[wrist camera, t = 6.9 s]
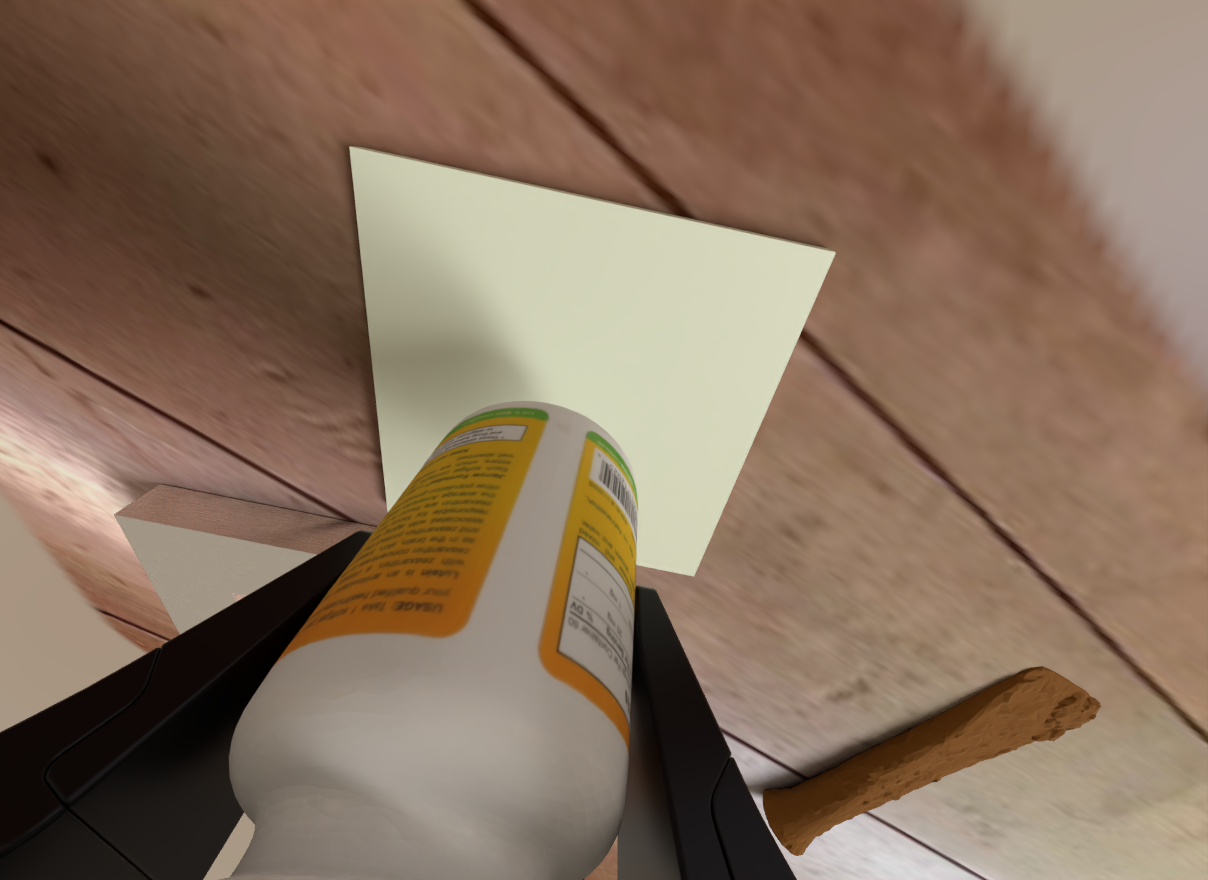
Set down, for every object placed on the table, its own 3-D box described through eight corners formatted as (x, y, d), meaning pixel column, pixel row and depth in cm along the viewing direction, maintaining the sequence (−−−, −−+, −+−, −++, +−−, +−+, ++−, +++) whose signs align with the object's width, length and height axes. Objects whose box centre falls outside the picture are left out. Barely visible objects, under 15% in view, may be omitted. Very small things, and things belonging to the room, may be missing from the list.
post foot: (468, 705, 27) (456, 741, 26) (241, 662, 27) (213, 695, 25) (475, 546, 20) (458, 582, 18) (159, 484, 20) (113, 514, 18)
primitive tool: (1034, 654, 21) (1097, 736, 18) (1101, 696, 22) (1171, 778, 19) (749, 781, 31) (760, 848, 28) (808, 805, 32) (824, 872, 29)
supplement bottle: (421, 514, 13) (29, 1117, 5) (468, 357, 10) (-260, 1135, 2) (591, 578, 14) (502, 1189, 6) (676, 448, 11) (749, 1271, 3)
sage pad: (692, 565, 19) (693, 576, 19) (395, 506, 19) (388, 515, 19) (828, 248, 12) (836, 252, 12) (362, 147, 12) (349, 146, 12)
